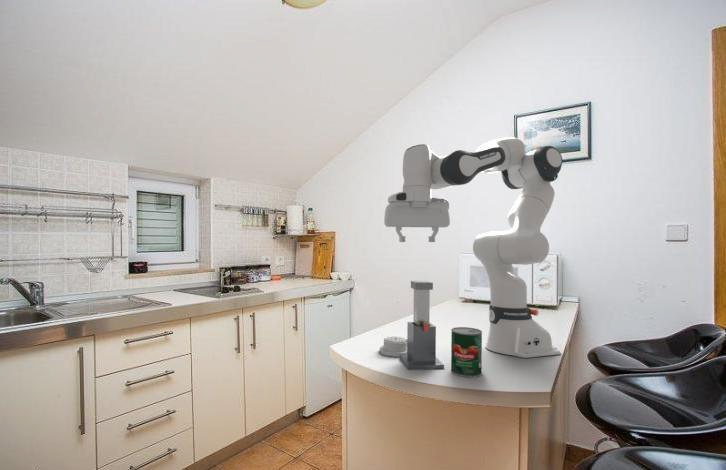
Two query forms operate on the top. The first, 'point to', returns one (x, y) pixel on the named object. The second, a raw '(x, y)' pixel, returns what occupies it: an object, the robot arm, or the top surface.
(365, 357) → the top surface
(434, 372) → the top surface
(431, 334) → the grey hollow housing
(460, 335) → the canned tomato
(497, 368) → the top surface
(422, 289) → the column
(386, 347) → the mechanical component
